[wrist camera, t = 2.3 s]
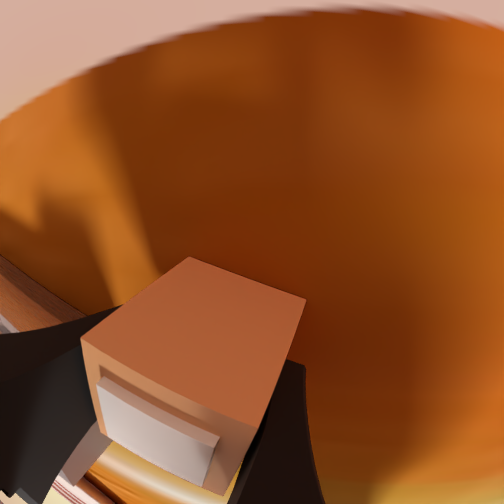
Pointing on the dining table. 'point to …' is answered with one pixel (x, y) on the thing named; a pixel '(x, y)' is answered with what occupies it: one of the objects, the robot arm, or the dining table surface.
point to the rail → (29, 303)
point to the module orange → (191, 369)
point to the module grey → (85, 455)
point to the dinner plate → (80, 492)
